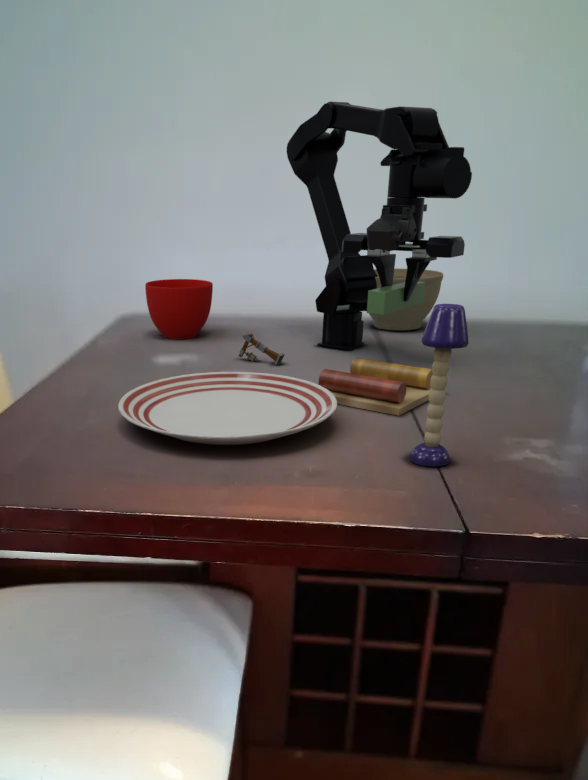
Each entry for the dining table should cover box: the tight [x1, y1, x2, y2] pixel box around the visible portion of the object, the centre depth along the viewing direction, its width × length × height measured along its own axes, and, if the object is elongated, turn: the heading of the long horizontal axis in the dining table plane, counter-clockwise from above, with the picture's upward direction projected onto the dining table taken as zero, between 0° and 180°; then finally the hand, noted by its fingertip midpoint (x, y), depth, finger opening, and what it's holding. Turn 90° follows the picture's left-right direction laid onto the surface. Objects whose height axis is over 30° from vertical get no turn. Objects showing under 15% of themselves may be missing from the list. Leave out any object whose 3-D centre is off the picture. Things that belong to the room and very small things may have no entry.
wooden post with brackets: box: [238, 332, 286, 366], centre depth 125 cm, size 2×8×4 cm, turn 58°
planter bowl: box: [368, 267, 444, 331], centre depth 151 cm, size 16×16×11 cm
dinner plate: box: [117, 371, 338, 446], centre depth 94 cm, size 27×27×3 cm
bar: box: [366, 282, 425, 315], centre depth 122 cm, size 3×15×4 cm, turn 141°
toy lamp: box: [409, 303, 469, 467], centre depth 79 cm, size 5×5×17 cm
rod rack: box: [318, 357, 433, 417], centre depth 105 cm, size 14×14×4 cm
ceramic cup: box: [144, 278, 214, 340], centre depth 146 cm, size 13×17×10 cm
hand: (396, 300), depth 122 cm, fingers closed on bar, 3 cm apart
